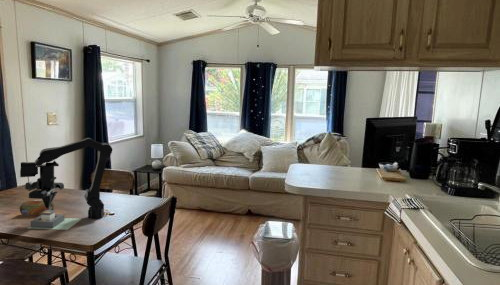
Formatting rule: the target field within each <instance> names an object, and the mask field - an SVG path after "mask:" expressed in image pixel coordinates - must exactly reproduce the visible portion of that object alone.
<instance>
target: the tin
mask: <svg viewBox="0 0 500 285" xmlns="http://www.w3.org/2000/svg"><path fill="white" fill-rule="evenodd" d="M46 210H54V211H55V204H54V202H53V201H52V203H51V205H50V207H49V208H46V207H45V204H44V202H43V200H42V199H31V200H26V201H24V202H22V203H21V205H20V206H19V213H20V214H21V216H23V217H26V216H41V213H42V212H44V211H46Z"/></svg>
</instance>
